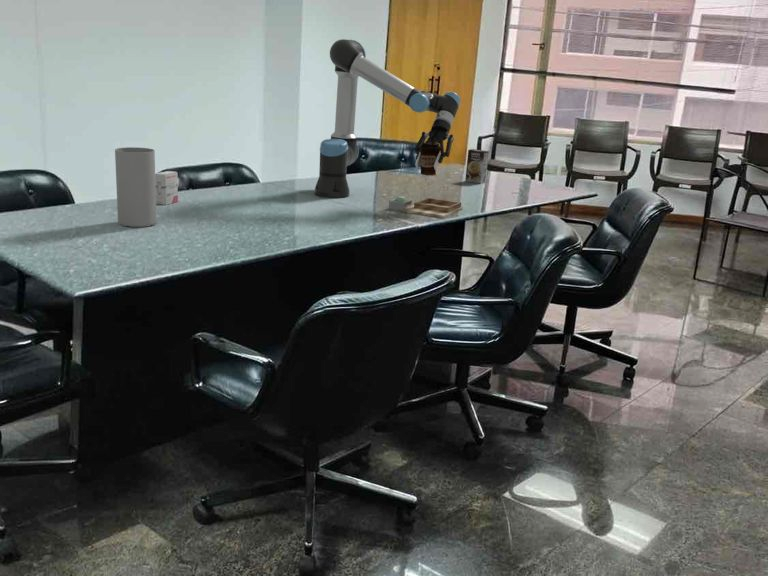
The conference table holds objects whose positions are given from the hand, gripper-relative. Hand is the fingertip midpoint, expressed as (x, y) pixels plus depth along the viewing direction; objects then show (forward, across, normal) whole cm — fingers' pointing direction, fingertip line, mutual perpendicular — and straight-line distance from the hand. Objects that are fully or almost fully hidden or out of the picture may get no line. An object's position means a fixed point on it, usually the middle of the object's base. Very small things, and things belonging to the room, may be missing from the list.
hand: (425, 167), depth 312 cm
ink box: (+53, -84, -30) cm, 103 cm away
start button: (+16, -7, +6) cm, 19 cm away
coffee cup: (0, 0, +5) cm, 5 cm away
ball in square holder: (+17, -8, +7) cm, 20 cm away
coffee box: (-47, -5, +72) cm, 86 cm away
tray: (+13, +5, +11) cm, 18 cm away
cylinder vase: (+77, -68, -54) cm, 116 cm away
